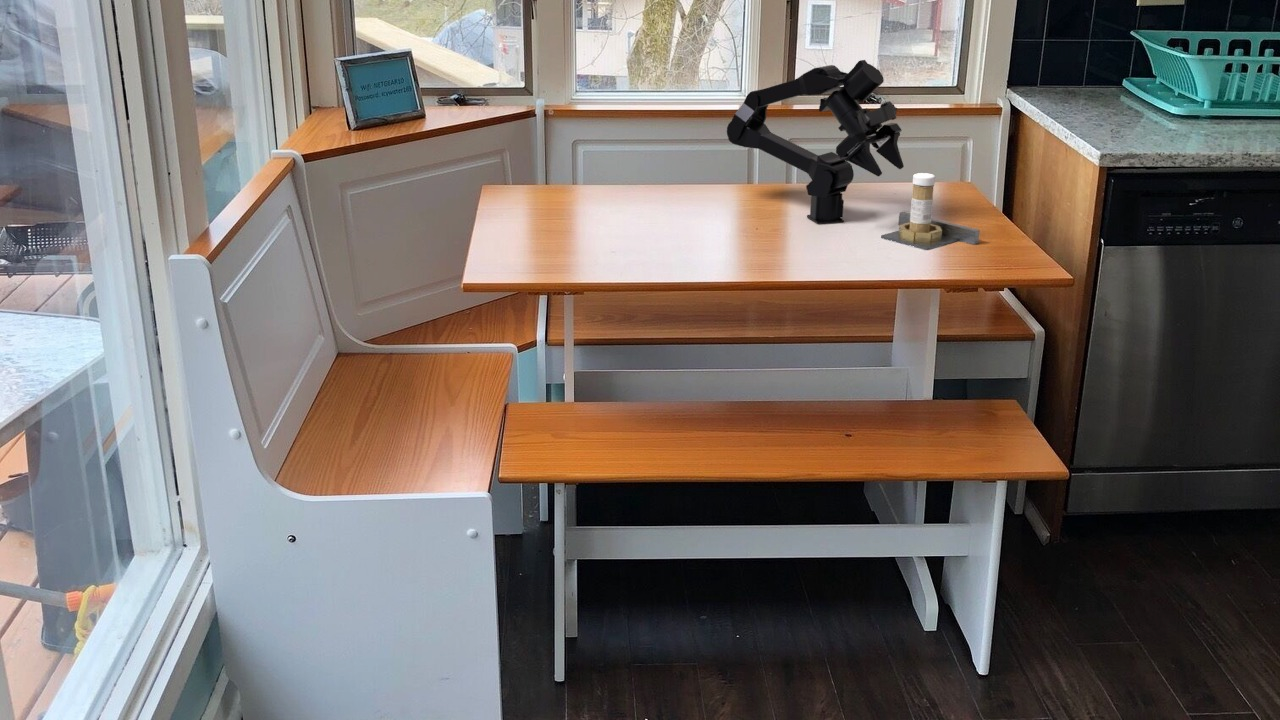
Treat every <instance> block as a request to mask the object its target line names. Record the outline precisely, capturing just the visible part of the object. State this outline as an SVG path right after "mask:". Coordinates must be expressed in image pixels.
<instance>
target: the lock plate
mask: <svg viewBox="0 0 1280 720" xmlns="http://www.w3.org/2000/svg"><path fill="white" fill-rule="evenodd" d="M898 225H899V226H898ZM898 225H897V226H898V230H896V231H892V232H889V233H884V234H881V236H880V238H881V239H883V238H884V239H883V240H887V239H888V241H891V240H892V241H891V242H894V241H896V243H898V242H899V243H898V244H902V245H906V246H909V245H911V247H913V246H914V247H915V248H918V249H922V250H924V251H927V250H928V251H929V250H931V249H934V248H935V249H936V248H939V247H941V246H946V245H948V244H952V243H956V242H960V243H965V244H968V245H973V246H975V245H977V244H979V240H980V229H978V228H974V227H973V228H972V227H969V226H965V225H961V224H957V223H952V222H949V221H944V220H942V219H941V220H939V219H937V218H933V217H931V222H930V231H929V232H916V231H912V230H909V228H910V212H907V211H900V212H899V213H898ZM914 247H913V248H914Z"/></svg>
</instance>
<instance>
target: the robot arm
mask: <svg viewBox="0 0 1280 720" xmlns="http://www.w3.org/2000/svg"><path fill="white" fill-rule="evenodd" d="M884 80H885V79H884V77H883V73H882V72H881V71H880V69H877V68H876V67H875V66H874V65H872V64H870V63H869V62H867V61H866V59H862V60H861V59H860V60H858V62H856V63H855V65H854V67H852V69H851V70H850V71H848V72H844V71H841V70H840V69H839V68H838V67H837V66H836V65H833V64H832V65H831V64H829V65H825V66H820V67H818V66H817V67H814V68H812V69H810V70H808V71H806V72H804V73H803V74H801V75H800V76H799V77H797V78H796V79H793V80H790V81H786V82H782V83H779V84H776V85H775V84H774V85H773V86H772V85H771V86H770V87H769V86H768V87H766V88H762V89H757V90H752V91H750V92H749V93H748V94H746V96H745V99H744V101H743V102H742V104H741V105H740V107H739V108H738V109H737V111H736V112H735V113H734V115H733V116H732V119H731V121H730V122H729V123H728V125H727V127H726V135H727V139H728V141H729V142H730V143H731V144H733V145H735V146H739V147H743V148H749V149H758V150H760V151H763V153H765V154H768V155H771V156H772V157H775V158H776V159H779V160H780V161H782V162H784V163H786V164H788V165H790V166H793V167H795V168H796V169H798V170H800V171H802V172H805V173H806V174H807V175H808V176H809V178H810V179H811V180H810V182H809V183H808V184H806V186H805V187H806V192H807V195H808V196H811V197H810V206H809V207H810V210H809V214H807V215H806V218H808V219H809V220H811V221H813V222H814V223H815V224H818V225H821V224H834V223H843V222H844V221H845V220H844V219H843V217H844V202H845V201H844V199H843V193H845V192H846V191H847V188H848V186H849V185H850V184H851V183H852V181H853V179H854V175H855V174H854V170H853V165H856V166H858V167H859V168H862V169H863V170H865V171H867V172H869V173H870V174H873V175H875V176H876V177H880V176H882V174H883V171H882V170H881V168H880V166H879V164H878V163H877V161H876V159H875V158H874V155H873V154H872V153H871V146H872V147H873V148H875V149H876V150H875V151H876V153H878V154H879V155H880V156H881V157H883V158H884V159H885V160H887V161H888V162H889V163H891V165H892V166H894V167H896V169H898V170H902V169H903V168H904V163H903V159H902V157H901V152H900V150H899V149H900V148H899V146H898V145H899V144H898V142H899V141H898V140H899V137H900V136H901V132H902V128H901V127H900V125H899V124H898V123H896V122H889V121H891V120H892V121H894V120H896V119H897V112H898V107H897V106H895V104H893V103H892V102H891V101H886V102H885V103H882V104H880V107H878V108H875V109H873V110H870V108H863V107H862V106H861V105H860V103H859V102H858V101H863V102H865V101H866V100H867V99H868V98H869V97H870V96H871V95H872V94H873V93H874V92H875V91H876V90H877V89H879V88H880V86H881V85H882V84H884ZM828 93H830V94H829V95H828V96H827V97H825V98H820V103H819V107H818V111H819V112H820V113H821V112H826V111H830V112H831V114H833V116H834V117H835V119H836V121H838V123H839V127H838V130H839V131H840V132H845V133H846V134H847V136H846V137H844V138H843V140H842V141H841V142H840V143H839V144H838V145H836V147H835V152H833V151H829V152H826V153H822V154H819V155H818V154H817V153H814V152H812V151H810V150H808V149H806V148H804V147H802V146H800V145H798V144H796V143H793V142H792V141H789V140H787V139H785V138H783V137H781V136H779V135H777V134H775V133H773V132H771V130H770V129H769V128H768V125H766V124H765V122H766V120H767V115H768V114H767V112H768V107H769V105H771V104H775V103H778V102H782V101H786V100H789V99H793V98H796V97H800V96H816V95H817V96H818V95H823V94H828ZM886 122H889V123H886ZM884 123H885V124H884ZM851 163H852V164H853V165H852V164H851Z"/></svg>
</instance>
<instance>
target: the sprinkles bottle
mask: <svg viewBox="0 0 1280 720" xmlns="http://www.w3.org/2000/svg"><path fill="white" fill-rule="evenodd" d="M935 184H936V176H935V175H934V174H932V173H926V172H918V173H915V174H913V176H912V196H911V201H910V202H911V203H910V204H911V205H910V212H909V213H910V228H909V230H912V231H916V232H929V231H930V222H931V218H932V213H933V212H932V211H933V203H934V201H933V200H934V199H933V197H934V186H935Z"/></svg>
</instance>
